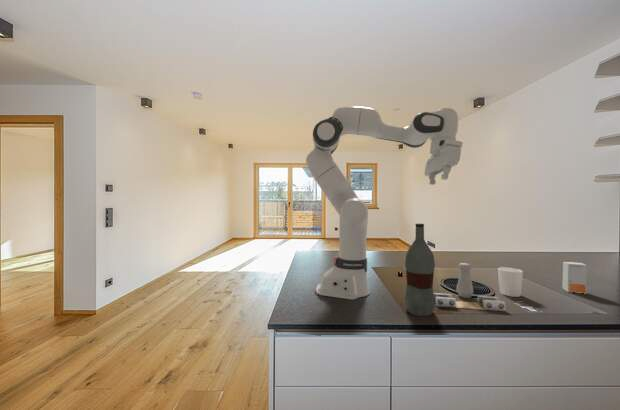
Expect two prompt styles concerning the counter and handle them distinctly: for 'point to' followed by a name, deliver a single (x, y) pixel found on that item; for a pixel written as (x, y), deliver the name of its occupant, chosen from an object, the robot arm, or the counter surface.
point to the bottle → (419, 276)
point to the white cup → (510, 281)
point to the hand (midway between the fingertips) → (438, 182)
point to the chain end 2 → (491, 303)
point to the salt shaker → (464, 281)
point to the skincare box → (574, 277)
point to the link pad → (468, 305)
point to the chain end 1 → (444, 300)
